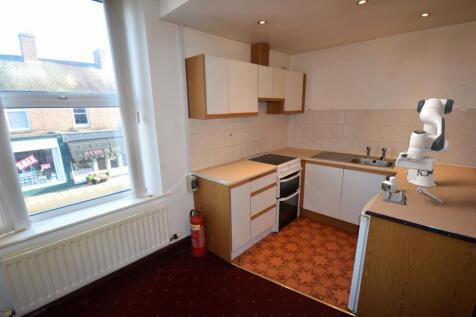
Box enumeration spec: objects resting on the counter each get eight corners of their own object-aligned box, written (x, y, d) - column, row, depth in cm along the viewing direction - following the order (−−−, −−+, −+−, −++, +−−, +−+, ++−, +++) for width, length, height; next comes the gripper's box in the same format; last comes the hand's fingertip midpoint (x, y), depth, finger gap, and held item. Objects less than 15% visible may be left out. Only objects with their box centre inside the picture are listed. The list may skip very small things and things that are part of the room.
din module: (406, 176, 159) (408, 166, 157) (415, 177, 156) (416, 167, 154) (407, 179, 152) (409, 169, 150) (415, 180, 150) (417, 170, 148)
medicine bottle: (380, 190, 179) (382, 175, 176) (387, 188, 181) (389, 174, 178) (389, 193, 172) (391, 178, 169) (395, 192, 175) (398, 177, 172)
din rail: (387, 191, 172) (388, 189, 171) (401, 193, 167) (401, 191, 166) (386, 199, 158) (386, 196, 157) (401, 202, 153) (401, 199, 152)
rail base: (384, 192, 173) (385, 191, 173) (403, 196, 166) (404, 194, 166) (382, 200, 159) (383, 198, 159) (403, 204, 152) (404, 202, 152)
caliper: (416, 192, 175) (417, 184, 173) (417, 192, 175) (419, 184, 173) (442, 203, 155) (444, 194, 153) (443, 203, 155) (445, 194, 153)
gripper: (435, 156, 147) (431, 176, 150) (397, 152, 159) (394, 171, 162) (436, 157, 142) (432, 178, 145) (397, 154, 153) (393, 173, 157)
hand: (411, 174), depth 154 cm, fingers closed on din module, 4 cm apart
